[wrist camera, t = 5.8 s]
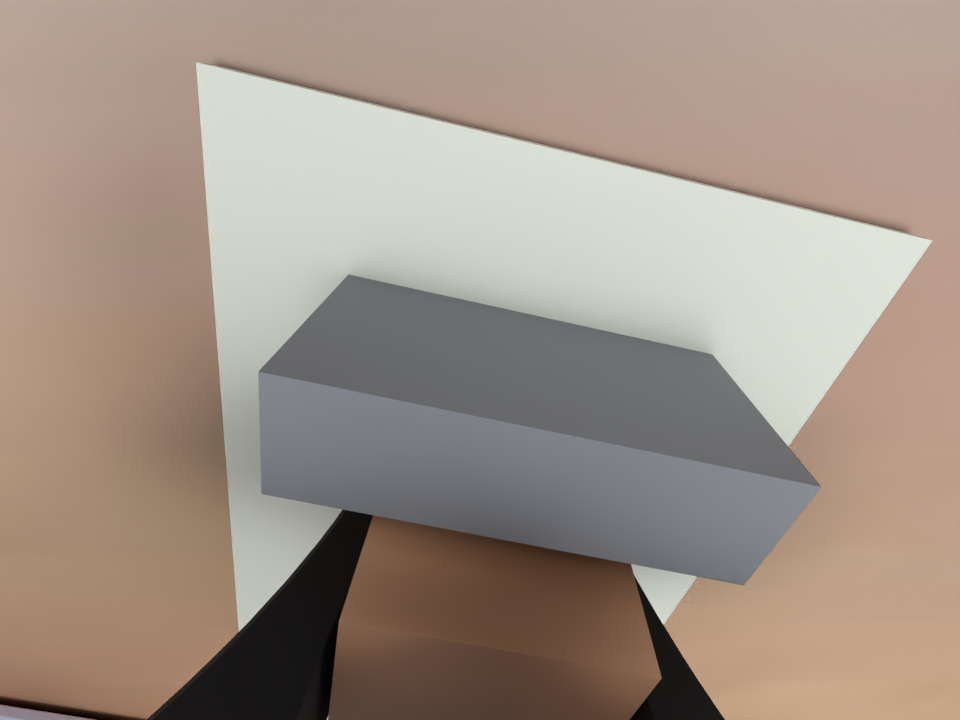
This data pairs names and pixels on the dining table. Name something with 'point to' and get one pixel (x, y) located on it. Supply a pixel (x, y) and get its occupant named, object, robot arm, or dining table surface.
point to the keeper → (487, 631)
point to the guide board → (503, 252)
